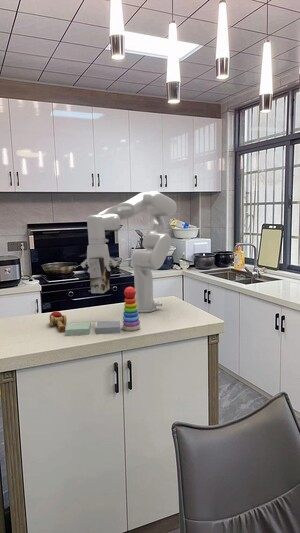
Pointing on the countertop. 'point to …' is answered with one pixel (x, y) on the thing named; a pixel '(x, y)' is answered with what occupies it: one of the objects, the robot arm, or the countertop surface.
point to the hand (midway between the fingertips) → (99, 279)
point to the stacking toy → (130, 311)
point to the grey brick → (108, 327)
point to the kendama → (58, 320)
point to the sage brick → (78, 329)
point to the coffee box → (98, 276)
